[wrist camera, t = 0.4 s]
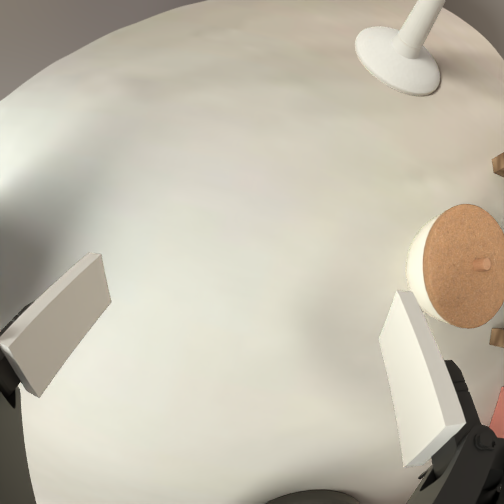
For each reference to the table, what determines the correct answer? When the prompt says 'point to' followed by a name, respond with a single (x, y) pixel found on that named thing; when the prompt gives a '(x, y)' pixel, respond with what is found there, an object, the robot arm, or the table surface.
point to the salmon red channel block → (498, 416)
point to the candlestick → (403, 51)
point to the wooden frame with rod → (499, 336)
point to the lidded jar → (458, 266)
